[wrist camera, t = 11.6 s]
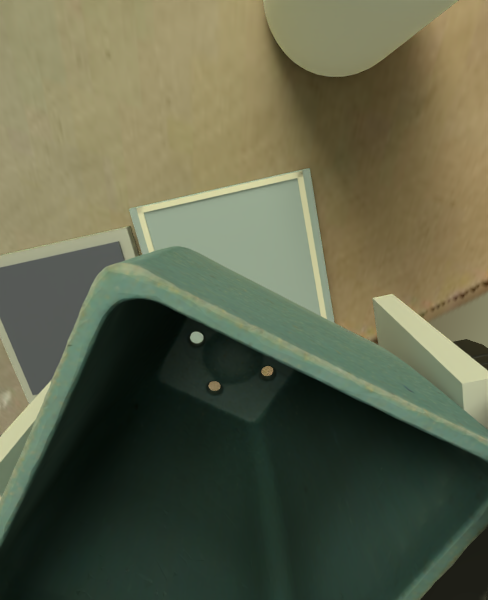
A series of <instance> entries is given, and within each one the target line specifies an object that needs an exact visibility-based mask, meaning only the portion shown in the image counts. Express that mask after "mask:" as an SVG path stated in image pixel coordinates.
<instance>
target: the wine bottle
mask: <svg viewBox="0 0 488 600" xmlns="http://www.w3.org/2000/svg"><path fill="white" fill-rule="evenodd" d="M457 1H459V0H263V3H264V9H265V15H266V18H267V21H268V25H269V28H270V30H271V32H272V34H273V36H274V38H275V40H276V42H277V43H278V45H279V46H280V48H281V49H282V50H283V52H284V53H285V54H286V55H287V56H288V57H289V58H290V59H291V60H292V61H293V62H294V63H296V64H297V65H299V66H300V67H302V68H303V69H305V70H307V71H310V72H312V73H315V74H317V75H323V76H328V77H345V76H349V75H354V74H358V73H360V72H362V71H365V70H367V69H369V68H371V67H372V66H374V65H376V64H377V63H379V62H380V61H382V60H383V59H384V58H385V57H387V56H388V55H389V54H391V53H392V52H393V51H394V50H396V49H397V48H398V47H400V46H401V45H402V44H403V43H405V42H406V41H407V40H409V39H410V38H411V37H412V36H414V35H415V34H416V33H418V32H419V31H420V30H421V29H423V28H424V27H425V26H427V25H428V24H429V23H430V22H432V21H433V20H434V19H435V18H437V17H438V16H439V15H441V14H442V13H443V12H444V11H446V10H447V9H448V8H450V7H451V6H452V5H453V4H455V3H456V2H457Z"/></svg>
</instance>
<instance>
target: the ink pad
mask: <svg viewBox="0 0 488 600" xmlns="http://www.w3.org/2000/svg"><path fill="white" fill-rule="evenodd" d="M137 256H139V254H138V251H137V247H136V244H135V241H134V237H133V234H132V231H131V227H130V226H127V227H122V228H118V229H114V230H109V231H105V232H100V233H96V234H91V235H87V236H82V237H78V238H73V239H69V240H64V241H60V242H56V243H51V244H47V245H42V246H38V247H33V248H29V249H24V250H20V251H15V252H11V253H6V254H2V255H0V338H1V340H2V343H3V345H4V347H5V350H6V352H7V354H8V357H9V359H10V361H11V363H12V366H13V368H14V370H15V373H16V375H17V377H18V380H19V382H20V384H21V387H22V389H23V391H24V394H25V396H26V398H27V401H28V403H29V404H30V403H31V402H32V401H33V400H34V399H35V398H36V396H37V395H38V394H39V393H40V392H41V391H42V390H43V389H44V388H45V386H46V385H47V384H48V383H49V382H50V381H51V380H52V378H53V376H54V373H55V371H56V368H57V366H58V365H59V363H60V360H61V358H62V355H63V353H64V350H65V348H66V345H67V341H68V339H69V337H70V335H71V332H72V330H73V328H74V325H75V323H76V321H77V318H78V316H79V312H80V309H81V307H82V304H83V302H84V301H85V299H86V297H87V295H88V292H89V290H90V288H91V285H92V283H93V282H94V280H95V278H96V277H97V275H98V274H99V273H100V272H101V271H102V270H103V269H104V268H105V267H107V266H110V265H112V264H115V263H119V262H122V261H125V260H128V259H131V258H134V257H137Z"/></svg>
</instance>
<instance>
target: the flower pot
mask: <svg viewBox="0 0 488 600" xmlns="http://www.w3.org/2000/svg"><path fill="white" fill-rule="evenodd" d="M193 332H200V333H201V334H202V335H203V340H202V341H201V342H200V343H194V342H192V341H191V339H190V336H191V334H192V333H193ZM265 366H271V367H272V368H273V373H272V375H270V376H264V375H262V373H261V370H262V368H263V367H265ZM211 381H217V382H219V383H220V385H221V388H220V389H219V390H218V391H212V390H210V389H209V387H208V385H209V383H210V382H211ZM487 526H488V429H486V428H485V427H484V426H483V425H482V424H480V423H479V422H478V421H477V420H476V419H474V418H473V417H472V416H471V415H470V414H468V413H467V412H466V411H465V410H463V409H462V408H461V407H460V406H459V405H457V404H456V403H455V402H454V401H453V400H451V399H450V398H449V397H448V396H446V395H445V394H444V393H443V392H442V391H440V390H439V389H438V388H437V387H436V386H434V385H433V384H432V383H431V382H430V381H428V380H427V379H426V378H424V377H423V376H422V375H421V374H419V373H418V372H417V371H416V370H414V369H413V368H412V367H410V366H409V365H408V364H407V363H405V362H404V361H402V360H401V359H400V358H398V357H397V356H395V355H394V354H392V353H391V352H389V351H388V350H386V349H384V348H382V347H381V346H379V345H377V344H375V343H373V342H371V341H369V340H367V339H365V338H363V337H361V336H359V335H357V334H355V333H353V332H351V331H349V330H347V329H345V328H343V327H341V326H339V325H337V324H335V323H333V322H331V321H329V320H327V319H325V318H324V317H322V316H320V315H318V314H316V313H314V312H312V311H310V310H308V309H306V308H304V307H302V306H300V305H298V304H296V303H294V302H292V301H290V300H289V299H287V298H285V297H283V296H281V295H279V294H277V293H275V292H273V291H271V290H269V289H267V288H265V287H263V286H261V285H259V284H257V283H255V282H254V281H252V280H250V279H248V278H246V277H244V276H242V275H240V274H238V273H236V272H234V271H232V270H230V269H228V268H226V267H224V266H222V265H221V264H219V263H217V262H215V261H213V260H211V259H209V258H207V257H206V256H204V255H202V254H200V253H198V252H196V251H193V250H191V249H189V248H185V247H180V246H173V247H168V248H163V249H160V250H156V251H153V252H150V253H147V254H143V255H140V256H137V257H134V258H131V259H128V260H125V261H122V262H119V263H115V264H112V265H110V266H107V267H105V268H104V269H103V270H102V271H101V272H100V273H99V274H98V275H97V277H96V278H95V280H94V282H93V283H92V285H91V288H90V290H89V292H88V295H87V297H86V299H85V301H84V302H83V304H82V307H81V309H80V312H79V316H78V318H77V321H76V323H75V325H74V328H73V330H72V332H71V335H70V337H69V339H68V341H67V345H66V348H65V350H64V353H63V355H62V358H61V360H60V363H59V365H58V366H57V368H56V371H55V373H54V376H53V378H52V380H51V384H50V387H49V389H48V391H47V393H46V395H45V398H44V402H43V404H42V406H41V408H40V411H39V413H38V415H37V418H36V420H35V422H34V425H33V428H32V430H31V432H30V435H29V437H28V439H27V441H26V443H25V446H24V448H23V450H22V452H21V454H20V457H19V459H18V461H17V464H16V466H15V468H14V470H13V472H12V475H11V477H10V479H9V482H8V484H7V486H6V489H5V491H4V493H3V496H2V498H1V500H0V600H420V599H421V598H422V597H423V595H424V594H425V593H426V592H427V591H428V590H429V589H430V588H431V586H432V585H433V584H434V582H436V581H437V580H438V579H439V578H440V577H441V576H442V575H443V574H444V573H445V572H446V571H447V570H448V569H449V568H450V567H451V566H452V565H453V564H454V563H455V561H456V560H457V559H458V558H459V556H460V555H461V554H462V552H463V551H464V550H465V549H466V547H468V545H469V544H470V543H471V542H473V541H474V540H475V539H476V537H477V536H478V535H479V534H480V533H481V532H483V531H484V529H486V528H487Z"/></svg>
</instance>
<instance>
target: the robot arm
mask: <svg viewBox="0 0 488 600" xmlns="http://www.w3.org/2000/svg"><path fill="white" fill-rule="evenodd" d="M373 306H374V313H375V321H376V329H377V337H378V345H379V346H381V347H382V348H384V349H386V350H388V351H389V352H391V353H392V354H394V355H395V356H397V357H398V358H400V359H401V360H402V361H404V362H405V363H407V364H408V365H409V366H410V367H412V368H413V369H414V370H416V371H417V372H418V373H419V374H421V375H422V376H423V377H424V378H426V379H427V380H428V381H430V382H431V383H432V384H433V385H434V386H436V387H437V388H438V389H439V390H440V391H442V392H443V393H444V394H445V395H446V396H448V397H449V398H450V399H451V400H453V401H454V402H455V403H456V404H457V405H459V406H460V407H461V408H462V409H463V410H465V411H466V412H467V413H468V414H470V415H471V416H472V417H473V418H474V419H476V420H477V421H478V422H479V423H480V424H482V425H483V426H484V427H485V428H486V429H488V348H486V347H485V346H484V345H482V344H479V343H476V342H473V341H470V340H467V339H465V340H460V341H455V342H451V341H450V340H449V339H448V338H447V337H445V336H444V335H443V334H442V333H440V332H439V331H438V330H437V329H435V328H434V327H433V326H432V325H430V324H429V323H428V322H427V321H425V320H424V319H423V318H422V317H420V316H419V315H418V314H417V313H415V312H414V311H413V310H412V309H410V308H409V307H408V306H407V305H406V304H404V303H403V302H402V301H401V300H399V299H398V298H397V297H396V296H394V295H393V294H390V295H385V296H380V297H375V298H373ZM50 384H51V381H50V382H49V383H48V384H47V385H46V386H45V388H44V389H43V390H42V391H41V392H40V393H39V394H38V395H37V396H36V398H35V399H34V400H33V401H32V402H31V403H30V404H29V405H28V406H27V408H26V409H25V410H24V411H23V412H22V413H21V414H20V415H19V416H18V418H17V419H16V420H15V421H14V422H13V423H12V424H11V425H10V426H9V427H8V429H7V430H6V431H5V432H4V433H3V434H2V435H0V500H1V498H2V496H3V493H4V491H5V489H6V486H7V484H8V482H9V479H10V477H11V475H12V472H13V470H14V468H15V466H16V464H17V461H18V459H19V457H20V454H21V452H22V450H23V448H24V446H25V443H26V441H27V439H28V437H29V435H30V432H31V430H32V428H33V425H34V422H35V420H36V418H37V415H38V413H39V411H40V408H41V406H42V404H43V402H44V398H45V395H46V393H47V391H48V389H49V387H50ZM486 596H487V597H486V600H488V586H487V595H486Z"/></svg>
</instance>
